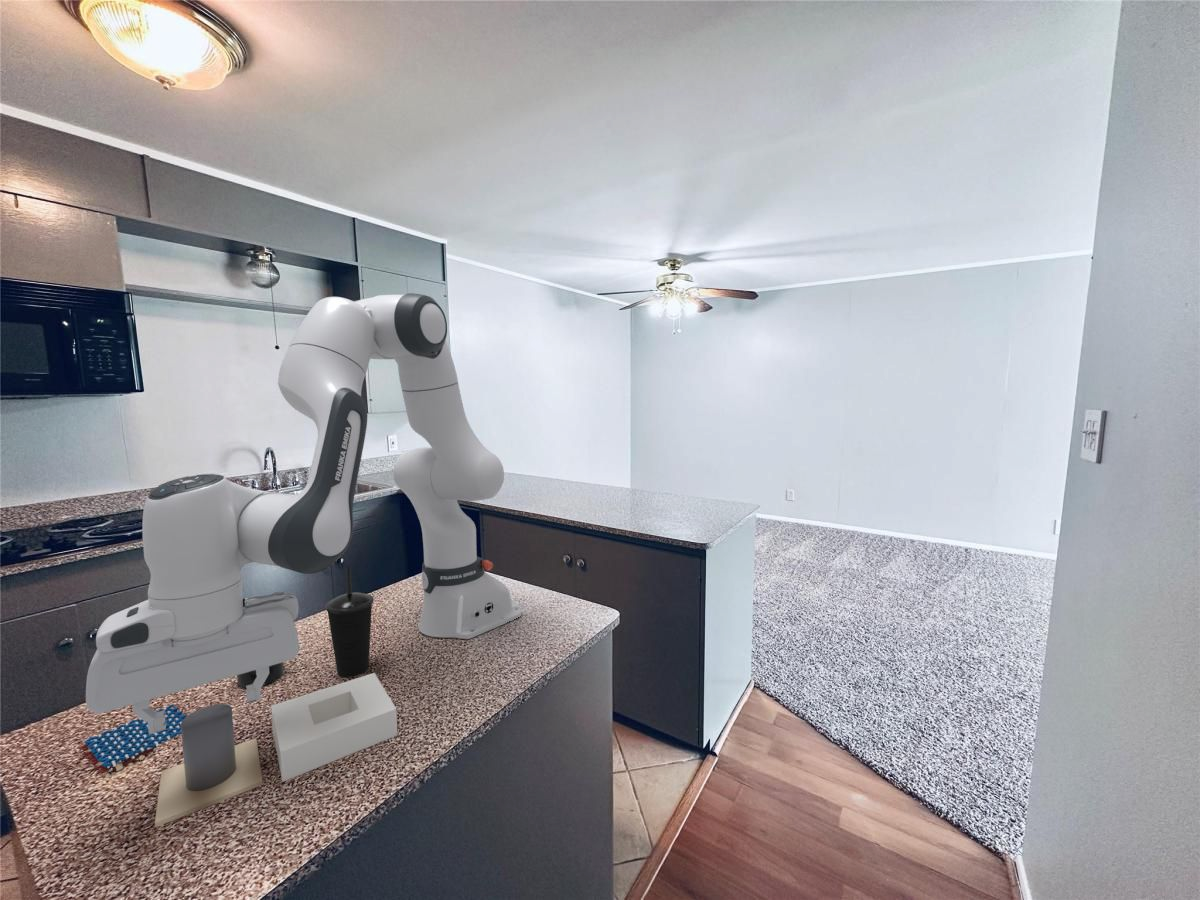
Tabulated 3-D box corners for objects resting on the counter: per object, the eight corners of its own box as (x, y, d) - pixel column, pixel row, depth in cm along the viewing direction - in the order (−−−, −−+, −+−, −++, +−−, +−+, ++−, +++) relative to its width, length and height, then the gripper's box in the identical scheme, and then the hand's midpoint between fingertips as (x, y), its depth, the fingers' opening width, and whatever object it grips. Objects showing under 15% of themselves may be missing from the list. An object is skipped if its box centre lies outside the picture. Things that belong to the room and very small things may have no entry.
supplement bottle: (260, 691, 83) (256, 623, 82) (227, 686, 84) (222, 619, 83) (293, 670, 89) (290, 606, 88) (262, 665, 91) (258, 603, 90)
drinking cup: (345, 692, 83) (339, 577, 81) (320, 678, 87) (314, 569, 85) (385, 671, 89) (381, 564, 87) (360, 659, 93) (356, 557, 91)
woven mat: (78, 753, 69) (77, 739, 69) (174, 713, 78) (173, 701, 78) (101, 784, 63) (99, 769, 63) (201, 737, 72) (200, 724, 72)
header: (375, 701, 80) (374, 672, 79) (397, 741, 71) (396, 708, 70) (273, 738, 71) (270, 705, 71) (282, 788, 62) (280, 751, 61)
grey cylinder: (235, 755, 66) (231, 699, 65) (236, 778, 62) (232, 718, 61) (186, 773, 62) (181, 714, 62) (185, 797, 59) (179, 735, 58)
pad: (256, 747, 69) (256, 737, 69) (263, 791, 61) (262, 780, 61) (162, 781, 63) (161, 770, 63) (156, 835, 55) (154, 822, 55)
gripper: (294, 581, 69) (300, 674, 70) (86, 622, 56) (99, 734, 58) (300, 595, 64) (307, 694, 65) (74, 643, 51) (89, 765, 53)
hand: (208, 714), depth 61 cm, fingers open, 8 cm apart
